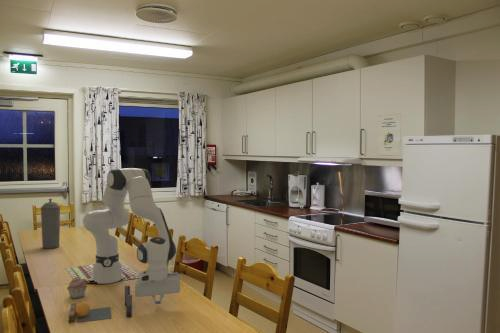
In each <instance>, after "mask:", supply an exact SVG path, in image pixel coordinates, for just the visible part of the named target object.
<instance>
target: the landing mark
mask: <svg viewBox="0 0 500 333" xmlns="http://www.w3.org/2000/svg"><path fill="white" fill-rule="evenodd" d="M111 312H112V310H111V306H107V307H99V308H97V307H96V308H90V312H89V314H88V315H87V316H85V317H79V316H78V317H77V318H78V320H77V323H84V322H93V321H100V320H101V321H102V320H109V319H112V317H111V316H112V313H111Z"/></svg>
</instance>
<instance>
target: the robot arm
mask: <svg viewBox="0 0 500 333" xmlns="http://www.w3.org/2000/svg"><path fill="white" fill-rule="evenodd" d="M151 182H152V176H151V173H150V171H149V170H148V169H145V168H141V167H140V168H135V167H128V168H125V167H123V168H113V169H111V170H109V172H108V173H107V175H106V186H105V188H104V192H103V195H102V203H103V204H104V206H106V207H107V208H105V209H97V210H93V211H92V210H91V211H89V212H87V213H86V212H85V214H84V216H83V218H82V224H83V227H84V229H85V230H87V231H88V232H90V234H91V235H92V236H93V237H94V240H95V244H96V245H95V247H96V248H95V249H96V254H95V264H93V265H92V275H91V277H90V278H89V279H88V281H89V280H94V281H95V282H97V283H96V284H99V285H100V284H103V285H104V284H113V283H117V282H120V281H121V279H122V280H124V278H125V279H126V275H125V274H123V269H122V268H123V267H122V265H123V264H122V263H121V262H120V261H119V259H120V255H119V254H120V253H119V241H118V238H116V236H114V235H111V234H110V233H109V230H113V229H117V228H118V229H119V228H122V227H124V226H127V225H128V224H129V222H130V218H131V215H130V213H129V211H128V210H127V209H126V208H125V200H126V197H127V193H128V198H129V199H128V200H129V206H130V211H132V213H133V214H134V215H135V216H136V217H138V218H141V219H145V220H148V221H151V222H152V223H154V224H155V226H156V229H157V232H158V235H159V236H157V237H156V236H155V237H151V238H150V239H149V240H148V241H146V242H142V243H140V244H139V245H138V247H137V248H136V249H137V250H136V258H137V260H138V262H140V263H142V264H147V265H148V266H147V269H145V270H142V271H140V272H138V274H137V280H136V282H135V288H134V296H135V297H137V298H139V297H150V296H151V298H152V299H153V301H154V305H156V306H157V305H161V304H162V300H164V297H165V295H169V294H171V295H172V294H177V293H180V292H181V282H180V281H181V279H182V276H181V273H178V272H177V271H176V272H169V270H168V269H169V267H168V266H169V265H168V261H172V260H173V259H174V257H175V255H176V254H177V248H176V243H175V242H174V240H173V238H172V235H171V233H170V230H169V226H168V224H167V221H166V218H165V214H164V213H163V210H162V209H161V208H160V207H159V206H158V205H156V202H155V200H154V197H153V192H152V188H151V185H150V184H151ZM92 278H93V279H92ZM95 282H94V283H95ZM157 296H160V298H159V299H157V298H156V297H157Z"/></svg>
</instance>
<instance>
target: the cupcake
mask: <svg viewBox="0 0 500 333" xmlns="http://www.w3.org/2000/svg"><path fill="white" fill-rule="evenodd" d="M86 282H87V281H85V280H84V279H83V278H81V277H79V276H78V275H77V276H74V277H73V278H72V280H71V281H69V284H68V286H67V287H66V289H67V291H68V295H69V297H70V298H71V299H74V298H76V299H81V298H83V297H85V293H86V290H87V288H88V285H87V283H86Z"/></svg>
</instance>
